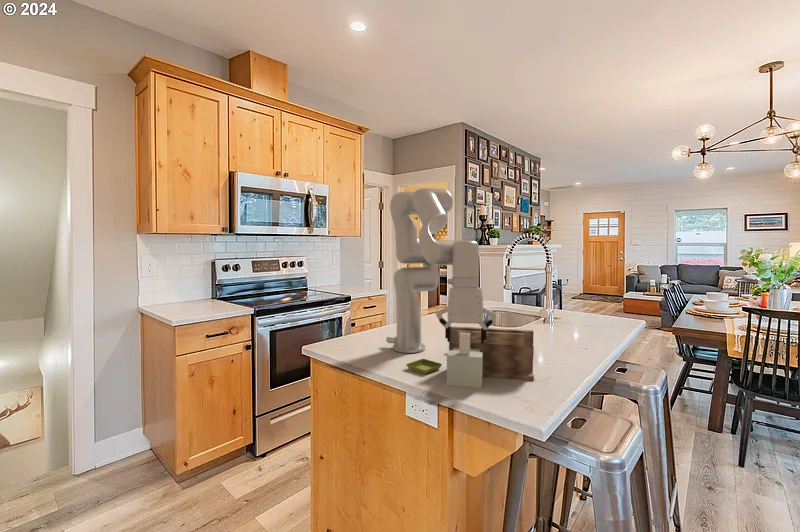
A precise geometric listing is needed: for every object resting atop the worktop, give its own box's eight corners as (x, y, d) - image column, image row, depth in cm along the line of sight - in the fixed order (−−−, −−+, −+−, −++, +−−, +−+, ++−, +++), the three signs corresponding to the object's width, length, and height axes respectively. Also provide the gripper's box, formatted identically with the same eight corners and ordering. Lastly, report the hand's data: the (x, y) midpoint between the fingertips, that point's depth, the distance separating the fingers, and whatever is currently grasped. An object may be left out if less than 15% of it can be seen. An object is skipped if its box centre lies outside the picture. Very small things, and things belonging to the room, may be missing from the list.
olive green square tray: (425, 376, 124) (425, 370, 124) (405, 370, 130) (405, 364, 130) (442, 370, 130) (442, 364, 130) (423, 364, 137) (423, 358, 136)
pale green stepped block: (446, 385, 116) (446, 334, 115) (450, 375, 124) (450, 328, 123) (481, 388, 114) (482, 336, 113) (482, 377, 122) (483, 329, 121)
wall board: (447, 373, 126) (447, 330, 125) (449, 368, 131) (449, 326, 130) (533, 380, 120) (534, 334, 119) (532, 374, 125) (533, 330, 124)
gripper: (433, 284, 114) (434, 343, 114) (496, 285, 109) (496, 346, 110) (437, 281, 121) (438, 337, 122) (496, 282, 117) (496, 340, 118)
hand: (465, 341), depth 116 cm, fingers open, 9 cm apart
